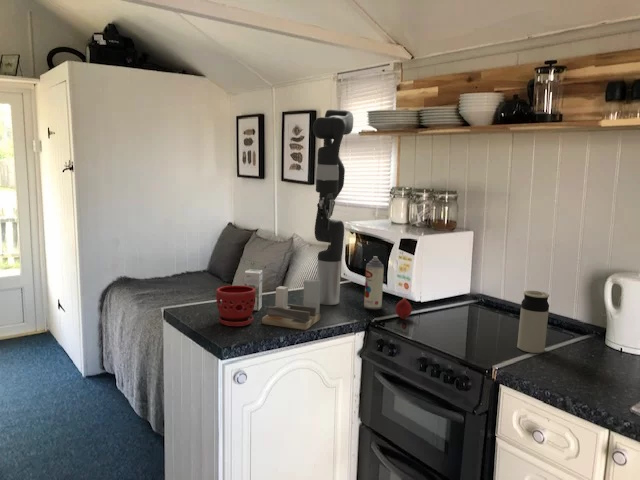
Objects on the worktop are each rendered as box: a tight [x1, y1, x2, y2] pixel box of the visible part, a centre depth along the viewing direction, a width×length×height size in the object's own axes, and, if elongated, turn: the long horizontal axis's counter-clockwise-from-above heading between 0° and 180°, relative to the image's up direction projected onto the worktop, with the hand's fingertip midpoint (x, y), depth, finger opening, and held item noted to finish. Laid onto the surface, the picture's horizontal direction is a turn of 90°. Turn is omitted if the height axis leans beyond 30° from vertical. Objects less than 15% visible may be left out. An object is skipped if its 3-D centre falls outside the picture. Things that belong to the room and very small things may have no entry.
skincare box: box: [302, 278, 321, 314], centre depth 199 cm, size 6×4×12 cm
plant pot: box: [215, 285, 256, 327], centre depth 182 cm, size 13×13×12 cm
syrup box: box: [243, 269, 263, 312], centre depth 200 cm, size 6×6×14 cm
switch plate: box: [261, 303, 321, 331], centre depth 187 cm, size 14×16×5 cm
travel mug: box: [516, 290, 550, 354], centre depth 167 cm, size 8×8×18 cm
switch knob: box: [274, 285, 290, 309], centre depth 188 cm, size 4×5×9 cm
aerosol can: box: [363, 255, 385, 310], centre depth 209 cm, size 7×7×20 cm
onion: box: [394, 297, 413, 320], centre depth 195 cm, size 6×6×8 cm
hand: (325, 229), depth 183 cm, fingers closed
